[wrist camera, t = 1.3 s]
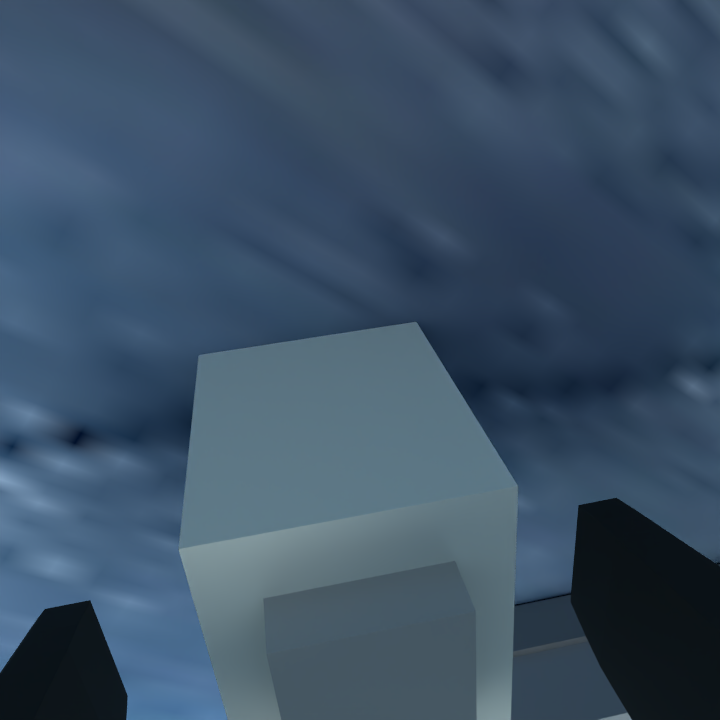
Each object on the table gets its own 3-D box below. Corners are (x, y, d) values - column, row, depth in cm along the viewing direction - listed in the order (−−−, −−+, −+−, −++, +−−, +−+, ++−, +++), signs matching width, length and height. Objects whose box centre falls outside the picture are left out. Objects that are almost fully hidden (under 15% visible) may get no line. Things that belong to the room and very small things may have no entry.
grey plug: (415, 320, 12) (546, 531, 7) (426, 525, 15) (530, 795, 9) (199, 353, 12) (172, 604, 7) (245, 559, 14) (252, 861, 9)
